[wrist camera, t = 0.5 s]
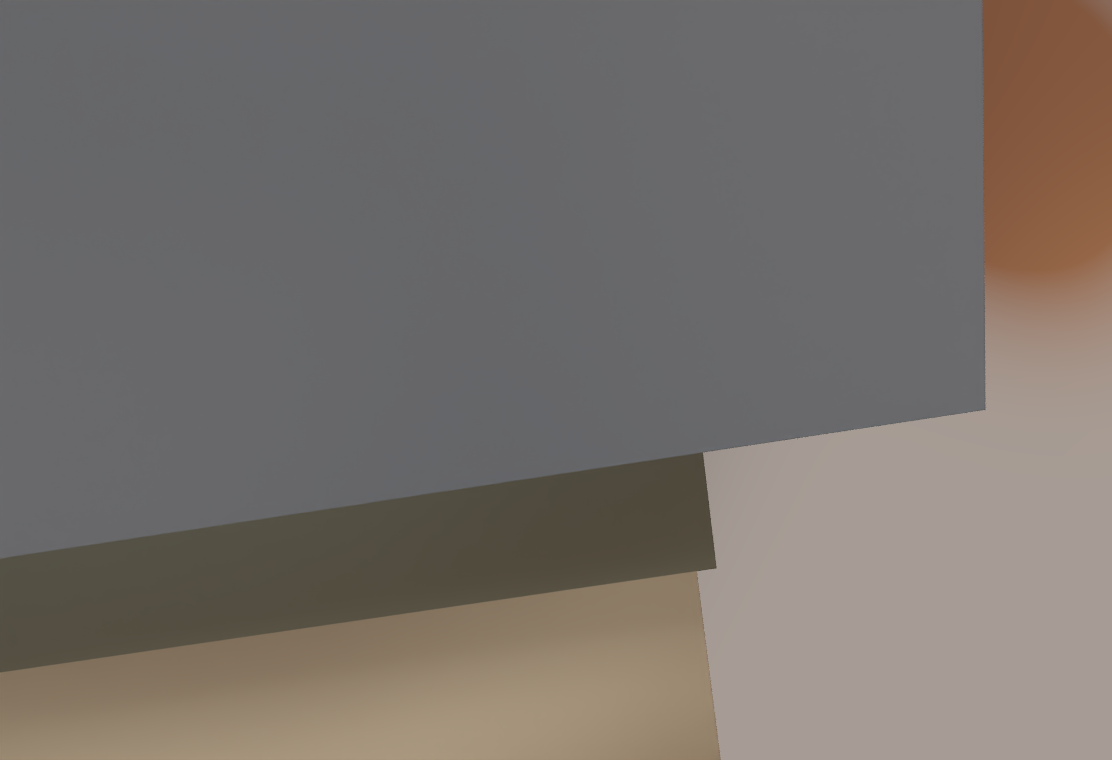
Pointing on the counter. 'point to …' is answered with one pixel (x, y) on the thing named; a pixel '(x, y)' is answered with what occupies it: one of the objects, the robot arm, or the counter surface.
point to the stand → (379, 631)
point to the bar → (466, 244)
